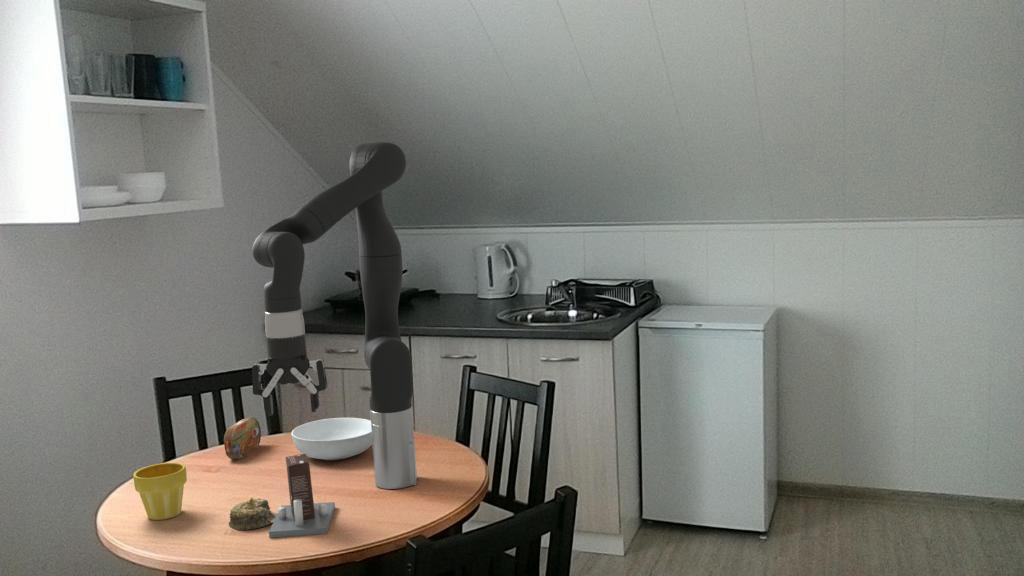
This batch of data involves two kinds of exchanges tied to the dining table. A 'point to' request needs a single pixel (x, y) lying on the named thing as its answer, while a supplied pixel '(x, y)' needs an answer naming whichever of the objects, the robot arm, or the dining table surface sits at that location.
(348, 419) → the serving bowl
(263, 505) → the sea snail shell
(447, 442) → the dining table surface
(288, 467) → the box
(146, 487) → the plant pot
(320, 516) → the pin tray
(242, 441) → the tin
